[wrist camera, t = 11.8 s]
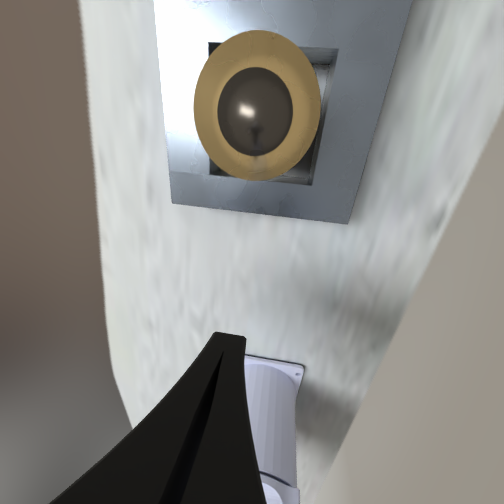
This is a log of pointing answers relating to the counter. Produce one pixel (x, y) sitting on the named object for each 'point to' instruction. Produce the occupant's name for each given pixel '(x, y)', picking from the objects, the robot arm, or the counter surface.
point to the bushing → (256, 105)
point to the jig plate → (333, 108)
